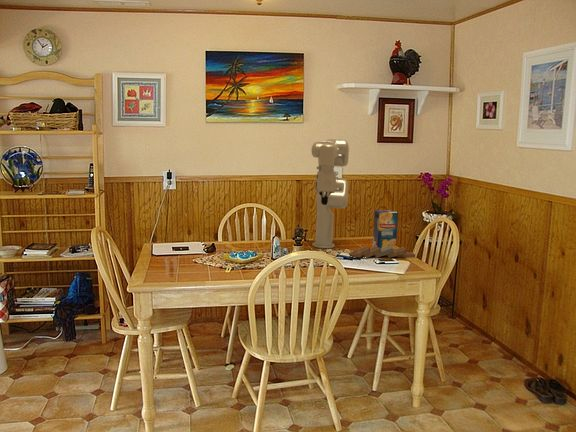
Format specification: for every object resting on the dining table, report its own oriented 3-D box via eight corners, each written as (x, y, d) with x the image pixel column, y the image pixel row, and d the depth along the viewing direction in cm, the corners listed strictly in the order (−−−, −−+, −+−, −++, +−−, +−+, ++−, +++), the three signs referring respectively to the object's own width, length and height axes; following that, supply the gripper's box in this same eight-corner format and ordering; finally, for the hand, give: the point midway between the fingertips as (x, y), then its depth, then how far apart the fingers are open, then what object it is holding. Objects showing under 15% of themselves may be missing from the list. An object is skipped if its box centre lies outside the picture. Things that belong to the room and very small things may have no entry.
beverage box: (395, 251, 306) (398, 212, 303) (376, 251, 304) (379, 212, 300) (390, 248, 313) (393, 210, 309) (371, 249, 310) (374, 210, 307)
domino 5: (393, 252, 298) (411, 252, 300) (393, 256, 298) (410, 256, 300) (397, 254, 293) (415, 254, 295) (397, 258, 293) (414, 258, 296)
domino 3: (372, 251, 294) (389, 245, 296) (373, 255, 295) (390, 249, 296) (375, 254, 289) (392, 248, 291) (376, 258, 290) (393, 251, 291)
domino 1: (348, 253, 289) (364, 246, 292) (349, 256, 289) (365, 249, 292) (353, 255, 284) (369, 248, 287) (354, 259, 285) (370, 251, 288)
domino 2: (359, 252, 291) (375, 245, 294) (360, 256, 292) (376, 249, 295) (363, 254, 287) (380, 248, 289) (364, 258, 287) (381, 251, 290)
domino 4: (385, 251, 296) (403, 247, 296) (386, 255, 296) (404, 250, 296) (387, 254, 291) (405, 249, 291) (388, 257, 291) (406, 253, 291)
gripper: (315, 169, 276) (313, 205, 279) (342, 169, 281) (340, 205, 284) (310, 168, 283) (308, 203, 286) (336, 168, 288) (334, 203, 291)
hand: (324, 204), depth 285 cm, fingers closed
